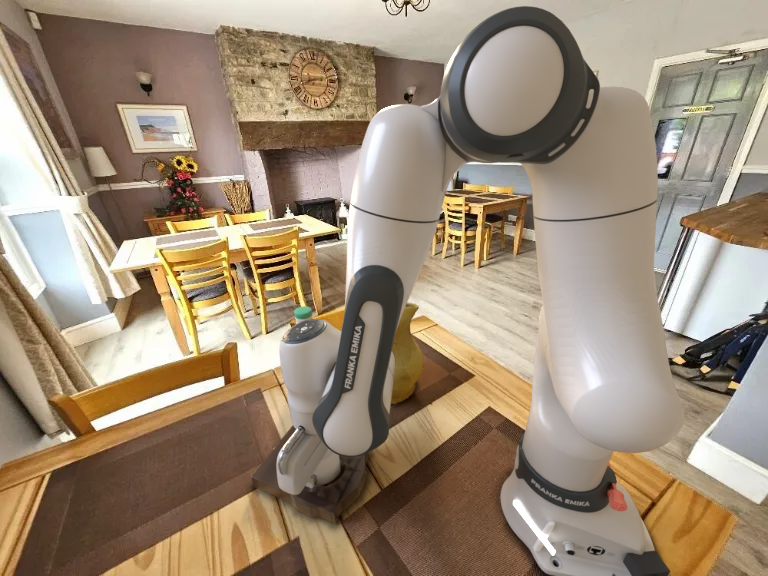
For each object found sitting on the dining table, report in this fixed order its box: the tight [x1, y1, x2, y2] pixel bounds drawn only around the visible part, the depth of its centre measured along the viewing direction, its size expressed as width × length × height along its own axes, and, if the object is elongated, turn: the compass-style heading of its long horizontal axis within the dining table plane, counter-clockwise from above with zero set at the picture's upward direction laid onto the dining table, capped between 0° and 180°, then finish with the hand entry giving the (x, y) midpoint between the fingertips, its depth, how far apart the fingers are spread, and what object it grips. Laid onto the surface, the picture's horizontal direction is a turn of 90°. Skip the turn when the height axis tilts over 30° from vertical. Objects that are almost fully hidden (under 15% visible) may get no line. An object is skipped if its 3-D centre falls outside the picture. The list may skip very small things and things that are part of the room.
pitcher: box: [391, 301, 425, 405], centre depth 79 cm, size 17×19×25 cm
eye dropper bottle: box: [313, 449, 342, 486], centre depth 59 cm, size 4×6×12 cm
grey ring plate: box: [250, 425, 370, 525], centre depth 61 cm, size 20×15×3 cm
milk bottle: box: [293, 305, 313, 325], centre depth 86 cm, size 8×8×20 cm
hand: (325, 460), depth 59 cm, fingers open, 8 cm apart
